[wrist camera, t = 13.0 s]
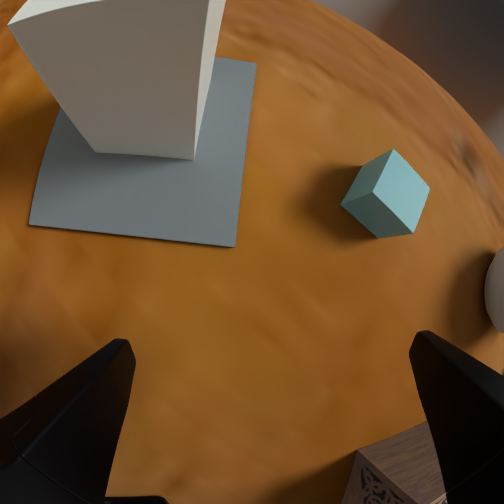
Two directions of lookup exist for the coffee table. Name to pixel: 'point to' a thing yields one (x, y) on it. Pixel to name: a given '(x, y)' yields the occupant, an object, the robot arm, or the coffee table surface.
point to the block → (387, 196)
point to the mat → (154, 175)
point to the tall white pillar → (125, 68)
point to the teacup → (495, 291)
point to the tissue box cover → (397, 471)
